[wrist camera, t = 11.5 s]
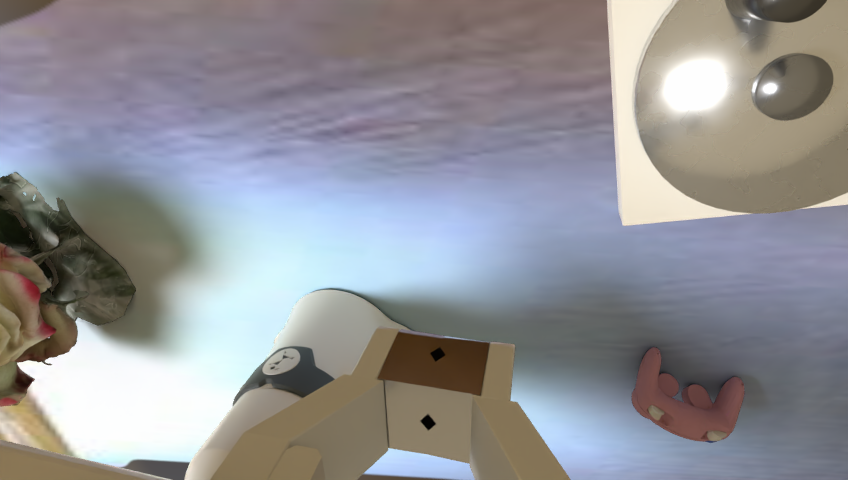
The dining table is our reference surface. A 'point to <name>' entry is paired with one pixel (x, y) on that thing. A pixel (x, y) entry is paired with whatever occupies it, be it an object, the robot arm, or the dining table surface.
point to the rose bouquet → (48, 284)
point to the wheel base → (636, 176)
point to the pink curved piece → (685, 403)
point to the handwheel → (747, 102)
